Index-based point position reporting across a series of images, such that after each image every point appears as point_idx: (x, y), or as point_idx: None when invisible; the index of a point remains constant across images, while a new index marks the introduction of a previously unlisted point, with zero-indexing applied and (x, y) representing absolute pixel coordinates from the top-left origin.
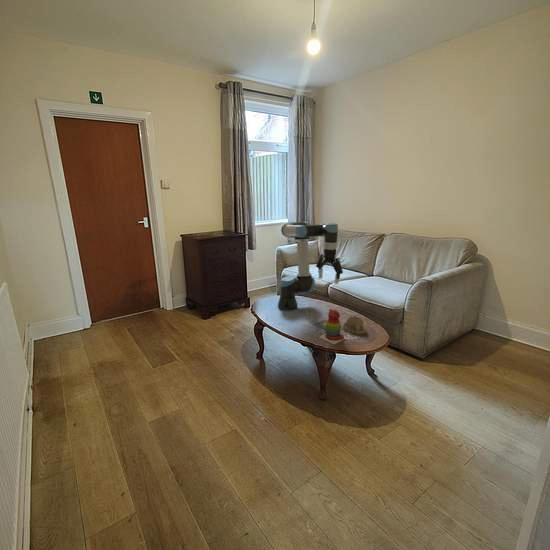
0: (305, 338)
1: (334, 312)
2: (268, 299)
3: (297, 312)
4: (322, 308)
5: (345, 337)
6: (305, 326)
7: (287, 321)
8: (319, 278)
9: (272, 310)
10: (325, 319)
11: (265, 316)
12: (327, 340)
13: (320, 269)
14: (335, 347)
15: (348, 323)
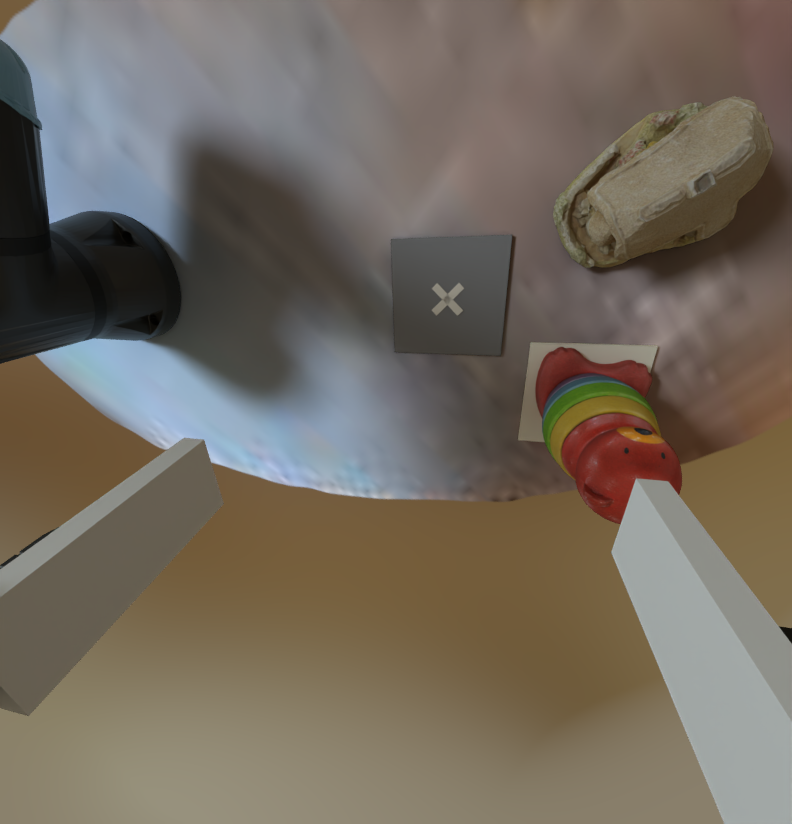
0: (477, 484)
1: None
2: None
3: (222, 294)
4: (233, 78)
5: (649, 351)
6: (387, 396)
7: (293, 415)
8: (218, 506)
9: (152, 377)
10: (396, 239)
11: None
12: None
13: (28, 689)
14: None
15: (633, 256)
